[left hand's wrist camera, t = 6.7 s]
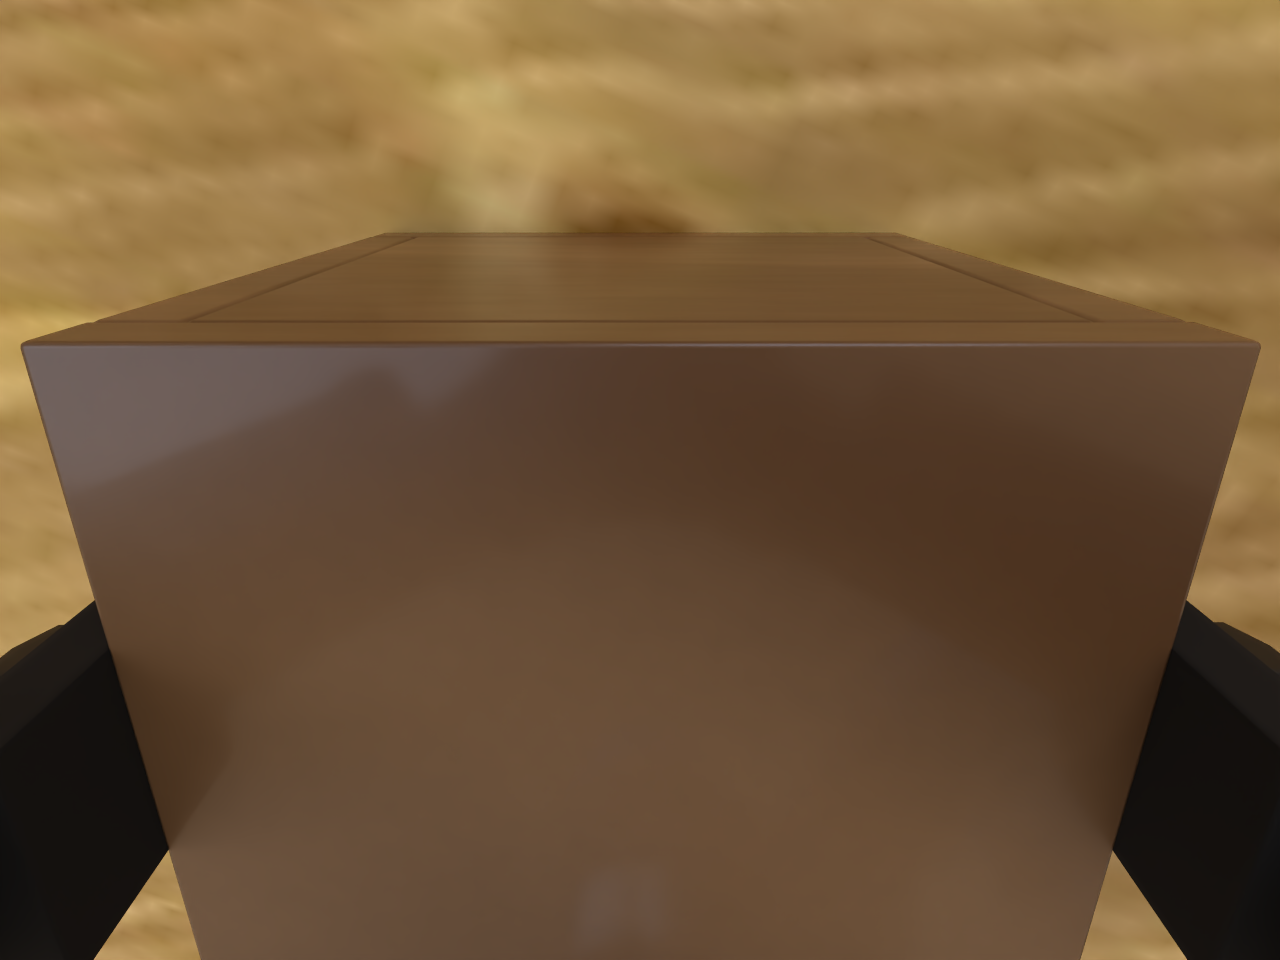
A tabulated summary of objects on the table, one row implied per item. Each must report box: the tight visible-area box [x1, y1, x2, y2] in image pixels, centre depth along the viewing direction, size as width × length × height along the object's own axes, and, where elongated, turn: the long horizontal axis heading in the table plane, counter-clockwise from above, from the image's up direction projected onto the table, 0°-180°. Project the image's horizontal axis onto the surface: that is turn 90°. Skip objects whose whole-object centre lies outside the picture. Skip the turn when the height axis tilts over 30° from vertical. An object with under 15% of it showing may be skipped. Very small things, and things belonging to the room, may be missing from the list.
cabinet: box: [21, 233, 1261, 960], centre depth 16 cm, size 20×11×11 cm, turn 0°
